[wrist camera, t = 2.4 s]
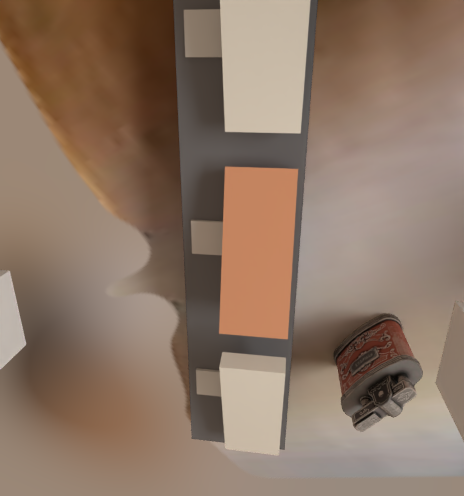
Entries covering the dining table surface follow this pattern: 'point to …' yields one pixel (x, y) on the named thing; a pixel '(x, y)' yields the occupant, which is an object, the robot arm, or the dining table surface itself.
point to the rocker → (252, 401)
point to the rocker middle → (257, 251)
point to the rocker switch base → (222, 203)
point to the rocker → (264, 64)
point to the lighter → (376, 371)
